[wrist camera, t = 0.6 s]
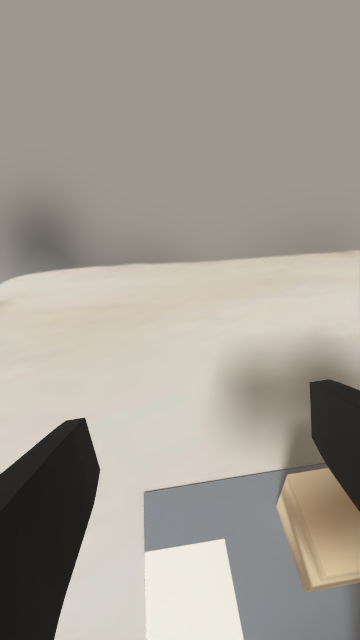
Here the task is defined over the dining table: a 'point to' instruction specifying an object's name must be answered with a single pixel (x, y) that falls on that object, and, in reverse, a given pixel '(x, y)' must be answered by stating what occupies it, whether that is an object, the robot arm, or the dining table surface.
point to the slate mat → (233, 567)
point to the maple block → (321, 529)
